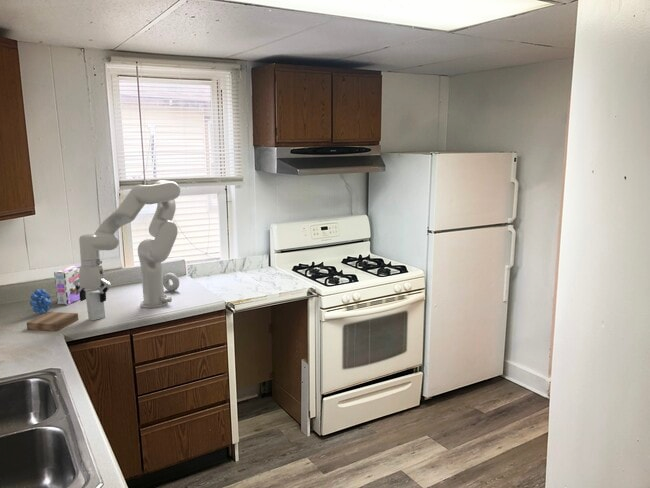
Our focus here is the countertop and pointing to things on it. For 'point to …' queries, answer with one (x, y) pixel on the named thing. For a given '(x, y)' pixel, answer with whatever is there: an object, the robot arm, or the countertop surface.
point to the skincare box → (95, 305)
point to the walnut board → (52, 321)
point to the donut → (174, 280)
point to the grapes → (40, 301)
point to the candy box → (67, 285)
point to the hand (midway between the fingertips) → (93, 300)
